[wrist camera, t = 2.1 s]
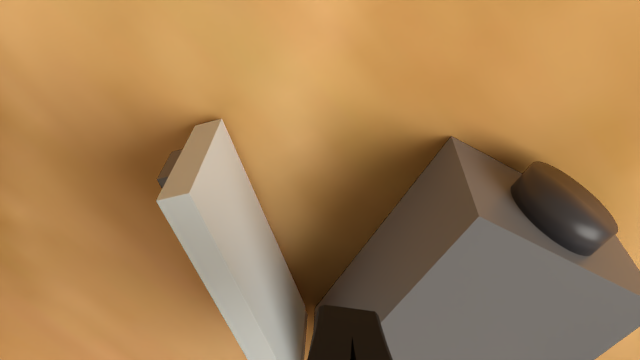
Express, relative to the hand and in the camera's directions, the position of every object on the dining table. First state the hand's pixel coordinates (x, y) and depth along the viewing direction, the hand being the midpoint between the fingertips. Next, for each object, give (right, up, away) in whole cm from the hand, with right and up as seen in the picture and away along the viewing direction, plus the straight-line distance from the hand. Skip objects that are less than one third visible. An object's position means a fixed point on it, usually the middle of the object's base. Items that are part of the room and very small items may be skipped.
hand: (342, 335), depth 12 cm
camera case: (+5, 0, +9) cm, 10 cm away
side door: (-3, +1, +8) cm, 9 cm away
